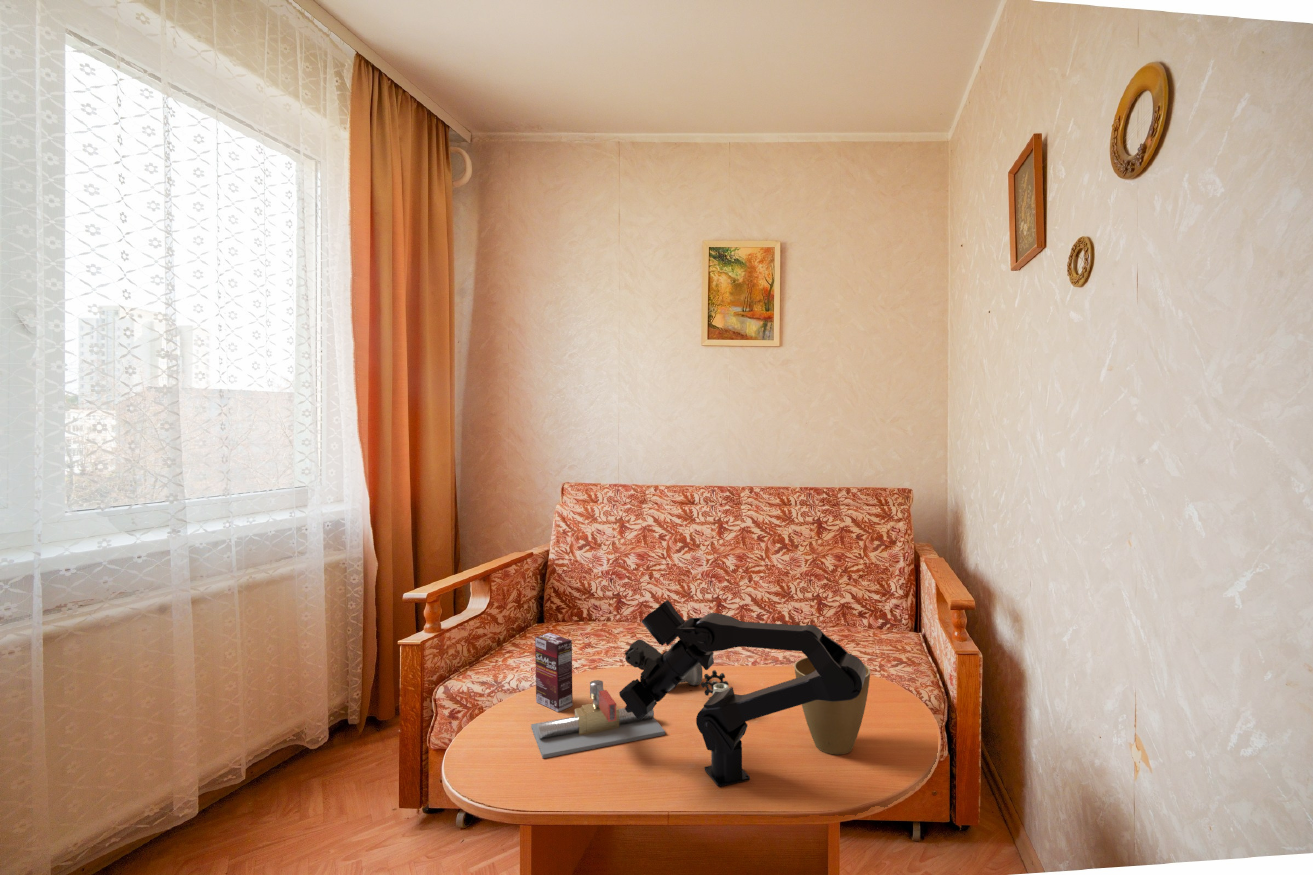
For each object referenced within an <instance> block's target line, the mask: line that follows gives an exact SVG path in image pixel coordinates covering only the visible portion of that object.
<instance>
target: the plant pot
mask: <svg viewBox="0 0 1313 875" xmlns="http://www.w3.org/2000/svg"><path fill="white" fill-rule="evenodd" d="M793 664H794V666H793V668H794V674H795V678H798V677H801V676H805V675H808V674H810V673H812V672H814V671H815V670H816V669H815V668H814V666H813V665H812V663H811V662H810V660H809V659H808V657H807V656H805V657H803V658H800V659H799V660H797V661H796V662H795V663H793ZM863 664H864V666H865V669H866V677H865V680H864V683H863V686H862V689H861V692H860V694H859V695H858V696H857V697H856V698H854V699H852V700H846V701H837V702H829V701H822V700H815V701H812V702H808V703H805V704H802V705H801V707H802V712H803V715H804V717H805V721H806V725H807V727H808V730H809V732H810V734H811V739H812V741H813V743H814V745H815V748H817V750H819V751H821V752H823V753H826V754H830V755H845V754H849V753H851V752H852V750H853V748H854V746H855V743H856V741H857V738H858V735H859V731H860V729H861V726H862V722H863V717H864V714H865V710H866V705H867V701H868V700H867V699H868V693H869V687H870V678H871V669H870V668H869V666H868V665H867V664H865V663H863Z"/></svg>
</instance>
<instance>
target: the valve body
mask: <svg viewBox="0 0 1313 875" xmlns="http://www.w3.org/2000/svg"><path fill="white" fill-rule="evenodd" d="M653 717H654V718H655V712H654V708H653V709H652V710H651V711H650V712H649V713H648V714H647V715H645V716H644V717H643V718H642V719H641V720H646V719H651V718H653ZM565 718H566V719H564V718H560V720H559V719H554V721H553V720H548V722H547V721H543V722H542V721H541V722H542V723H541V722H537V723H538V736H539V739H542V738H547V737H553V736H558V735H564V734H569V733H575V732H578V734H579V735H584V734H592V733H598V732H603V731H609V730H613V729H617V728H619V724H624V723H629V722H635V721H640V720H639V719H637V718H636V716H635V715H634V714H633V713H632V712H630V713H628V712H627V711H626V710H625V707H624V708H623V709H622V708H618V706H617V705H616V721H610V722H608V720H607V719H606V717H605V716H604V714H603V713H602V711H601V710H600V708H599V703H598V702H597V700H596V699H592V703H588V704H581V707H577V708H574V716H571V718H570V717H565Z"/></svg>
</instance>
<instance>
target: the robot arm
mask: <svg viewBox="0 0 1313 875" xmlns="http://www.w3.org/2000/svg"><path fill="white" fill-rule="evenodd" d="M641 623H642V625H643V626H644V627H645V628H646V630H647V631H648V632H649V633H650V635H651V636H652V637H653V638H654V639H655V641H656V642H657V643H658V644H659V645H661V647H663V646H664V645H666V646H669V645H670V644H672V643H673V644H674V643H675V644H674V645H673V646H672V647H671V646H670V648H669V649H668V650H665V651H663V653H661V652H660V651H658V649H657V648H656V647H654V646H652V645H651V644H649V643H648V642H647V641H644V640H643V639H637V640H635V641H634V642H632V643H631V644H630V646H629V648H628V649H627V650H626V651H625V652H624V656H625V657H624V659H625V661H626V663H627V664H629V665H630V666H632V667H634V668H638V669H639V670H641V671H642V672H640V677H639V678H640V680H639V679H638V678H636V679H633V680H631V681H630V682H629V683H628V684H626V685H625V686H624V687H623V688H622V689H621V690H620V691H619V692H618V694H619V697H620V698H621V700H622V701H623V702H624V703H625V707H624V708H625V710H626V711H627V712H628V713H630V712H632V713H633V714H634V715H635V716H636V718H637V719H639V720H641V719H642V718H643V717H644V716H645V715H647V714H648V713H649V712H650V711H651V710H652V709H653V710H654V708H655V706H656V705H657V704H658V702H661V700H662V699H663V698H665V697H666V695H667V694H668V693H669V692H670V691H671V690H674V689H675V688H676V687H678V685H679V684H680V682H681V681H682V680H683V678H684V677H685V676H686V675H687V674H689V673H690V672H691V671H692V670H693V669H694V668H695V667H696V666H697V665H698V664H699V663H700V664H701V665H702V669H704V670H705V671H708V670H709V669H710V668H711V667H712V666H713V665H714V664H715V659H714V652H721V651H726V650H730V649H734V648H740V647H741V648H743V647H744V648H753V649H754V648H755V649H766V650H767V649H768V650H781V651H794V652H802V653H803V655H805V657H808V659H809V660H810V662H811V663H812V665H813V666H814V668H815V669H816V670H815V671H814V672H812V673H810V674H808V675H805V676H801V677H798V678H796V677H795V678H792V679H790V680H787V681H786V680H785V681H783V682H780V683H777V684H774V685H771V686H768V687H763V688H760V689H759V690H754V691H752V692H749V693H746V694H737V693H735V692H734V688H733V687H732V686H730V687H729V689H727V690H725V691H723V692H715V693H714V694H713V695H711V696H710V697H709V698H708V700H707V701H706V702H705V703H704V704H703V706H702V708H701V709H700V710H699V712H698V713H697V715H696V719H695V722H696V727H697V729H698V731H699V732H700V734H701V735H702V739H703V741H704V745H705V747H706V749H707V751H710V752H711V753H710V754H711V755H710V756H711V761H710V762H711V765H707V766H704V771H705V772H706V774H707V775H708V776H709V777H710V778H711V779H712V781H713V782H714V783H715V785H716V786H718V787H725V786H729V785H733V784H738V783H742V782H746V781H749V780H750V779H751V777H750V775H749V774H748V773H747V772H746V771H745V770H744V769H743V742H742V738H743V736H745V734H746V732H747V729H748V727H749V726H748V723H747V722H749V721H751V720H755V719H757V718H758V719H759V718H762V717H766V716H768V715H772V714H774V713H778V712H782V711H784V710H785V711H786V710H788V709H791V708H794V707H797V706H798V707H799V706H802V704H805V703H808V702H812V701H815V700H822V701H829V702H837V701H846V700H852V699H854V698H856V697H857V696H858V695H859V694H860V692H861V689H862V686H863V683H864V680H865V677H866V669H865V666H864V664H865V663H863V661H862V660H861V659H860V658H859V656H857V655H854V654H852V653H849V652H848V651H847V650H846V649H845V648H844V647H843V646H842V645H840V644H839V643H838V642H837V641H835V640H833V639H832V638H831V637H829V636H828V635H826V634H825V633H824V632H823V631H822V630H821V629H820V628H819V627H818V626H816V625H814V624H805V625H802V624H784V623H767V622H752V621H750V622H749V621H743V620H739V619H737V618H735V617H733V616H730V615H727V614H722V613H718V612H710V613H707V614H705V615H704V616H703V617H689V618H687V619H686V620H684V618H683V617H682V616H681V615H680V614H679V612H678V611H677V610H676V609H675V607H674V606H673V604H672V603H671V602H670V600H669V599H666V600H664V601H663V602H662V603H661V604H660V605H659V606H658V607H656V608H655V609H654V610H652V611H650V612H649V613H648V614H647V615H646V616H645V617H644V618H643V619H642V621H641ZM677 638H678V639H679V640H677V641H676V642H674V641H675V640H676V639H677Z"/></svg>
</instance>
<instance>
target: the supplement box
mask: <svg viewBox="0 0 1313 875" xmlns="http://www.w3.org/2000/svg"><path fill="white" fill-rule="evenodd" d="M534 646H535V647H534V648H535V702H536V704H540V705H542V706H544V707H546V708H549V709H552V710H553V711H555V712H556V713H560V712H561V711H565V710H566V709H569V708H571V707H572V706H573V704H574V703H573V641H572V639H571V638H566V637H563V636H561V635H558V634H554V633H552V632H546V633H544V634H540V635H538V636H535V637H534Z"/></svg>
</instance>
